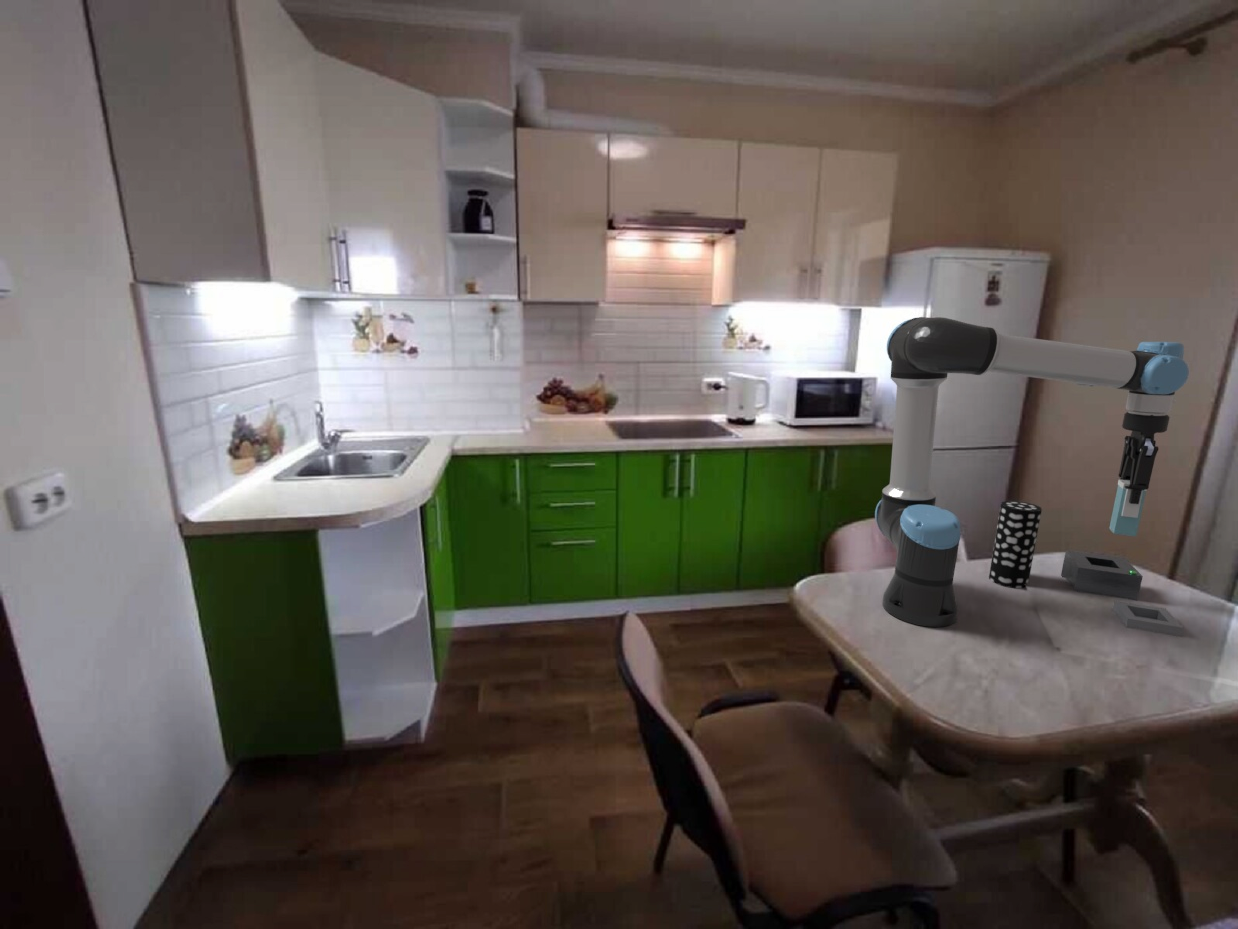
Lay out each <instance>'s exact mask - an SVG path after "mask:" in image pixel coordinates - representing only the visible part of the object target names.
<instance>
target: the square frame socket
mask: <svg viewBox="0 0 1238 929" xmlns="http://www.w3.org/2000/svg"><path fill="white" fill-rule="evenodd" d="M1111 610H1112V611H1114V613H1115V615H1116V616H1117V618H1119V620H1120V621H1121V623H1122V624H1123V625H1124V626H1125V628H1128V629H1129V628H1130V629H1133V630H1134V629H1135V630H1140V631H1146V632H1153V633H1158V634H1162V635H1163V634H1164V635H1170V636H1174V637H1175V636H1176V637H1182V636H1183V635H1182V634H1183V632H1184V626H1182V624H1180V622H1179V620H1177V619H1176V618H1175V617H1174V616H1173V615H1172V613H1170V611H1169V610H1168V609H1167V608H1163V607H1157V606H1151V605H1145V604H1137V603H1134V602H1133V603H1132V602H1125V601H1118V600H1113V604H1112V609H1111Z"/></svg>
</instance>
